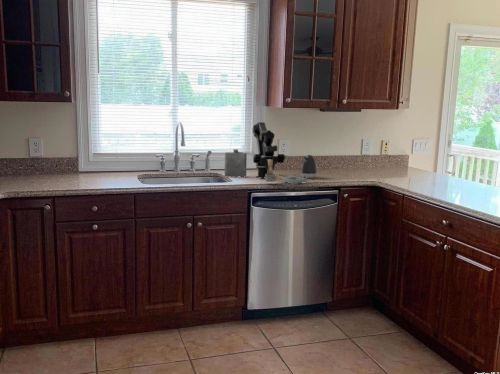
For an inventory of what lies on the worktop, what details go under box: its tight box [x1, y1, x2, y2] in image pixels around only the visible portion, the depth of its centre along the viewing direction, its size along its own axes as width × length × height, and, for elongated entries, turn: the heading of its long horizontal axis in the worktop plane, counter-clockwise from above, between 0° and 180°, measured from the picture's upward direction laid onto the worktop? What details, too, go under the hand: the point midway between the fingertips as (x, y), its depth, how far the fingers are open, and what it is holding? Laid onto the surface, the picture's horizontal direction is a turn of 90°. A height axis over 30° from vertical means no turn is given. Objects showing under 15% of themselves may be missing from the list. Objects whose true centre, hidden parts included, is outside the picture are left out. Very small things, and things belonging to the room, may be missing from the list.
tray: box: [280, 176, 307, 185], centre depth 312 cm, size 11×11×3 cm
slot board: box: [274, 173, 294, 181], centre depth 322 cm, size 12×10×3 cm
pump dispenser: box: [301, 154, 318, 179], centre depth 330 cm, size 10×10×15 cm
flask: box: [224, 148, 247, 177], centre depth 331 cm, size 4×14×18 cm, turn 86°
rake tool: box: [264, 159, 276, 183], centre depth 304 cm, size 5×5×13 cm
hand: (270, 169), depth 302 cm, fingers closed on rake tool, 3 cm apart
